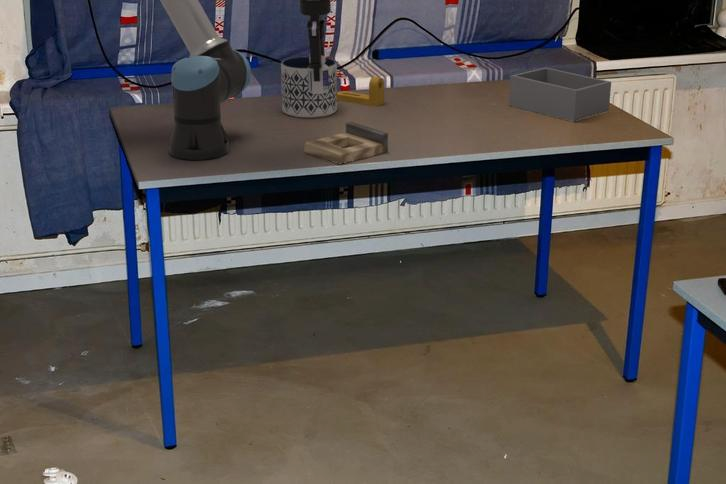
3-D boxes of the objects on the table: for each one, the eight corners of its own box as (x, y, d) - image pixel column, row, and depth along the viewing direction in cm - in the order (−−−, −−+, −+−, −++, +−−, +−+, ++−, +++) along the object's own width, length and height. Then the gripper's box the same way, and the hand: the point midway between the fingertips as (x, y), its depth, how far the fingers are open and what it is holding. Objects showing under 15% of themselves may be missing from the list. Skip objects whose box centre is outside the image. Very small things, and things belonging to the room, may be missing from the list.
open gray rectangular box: (573, 122, 307) (576, 90, 303) (508, 105, 323) (510, 75, 320) (608, 112, 316) (611, 81, 313) (543, 96, 333) (545, 67, 330)
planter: (347, 109, 319) (347, 60, 314) (315, 121, 307) (314, 71, 302) (304, 101, 327) (303, 53, 322) (270, 113, 315) (269, 63, 310)
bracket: (384, 103, 326) (384, 76, 323) (376, 107, 322) (376, 79, 319) (341, 97, 333) (341, 70, 330) (333, 100, 330) (333, 73, 326)
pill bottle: (333, 92, 276) (331, 57, 273) (315, 95, 273) (313, 60, 270) (322, 88, 280) (320, 53, 277) (304, 91, 278) (302, 56, 274)
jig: (340, 164, 271) (340, 145, 269) (304, 152, 280) (304, 133, 278) (387, 151, 281) (387, 133, 279) (351, 140, 290) (351, 121, 288)
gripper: (327, 3, 259) (330, 99, 268) (333, -9, 276) (336, 82, 285) (295, 3, 260) (300, 99, 268) (303, -8, 277) (307, 82, 285)
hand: (318, 90), depth 277 cm, fingers closed on pill bottle, 5 cm apart
